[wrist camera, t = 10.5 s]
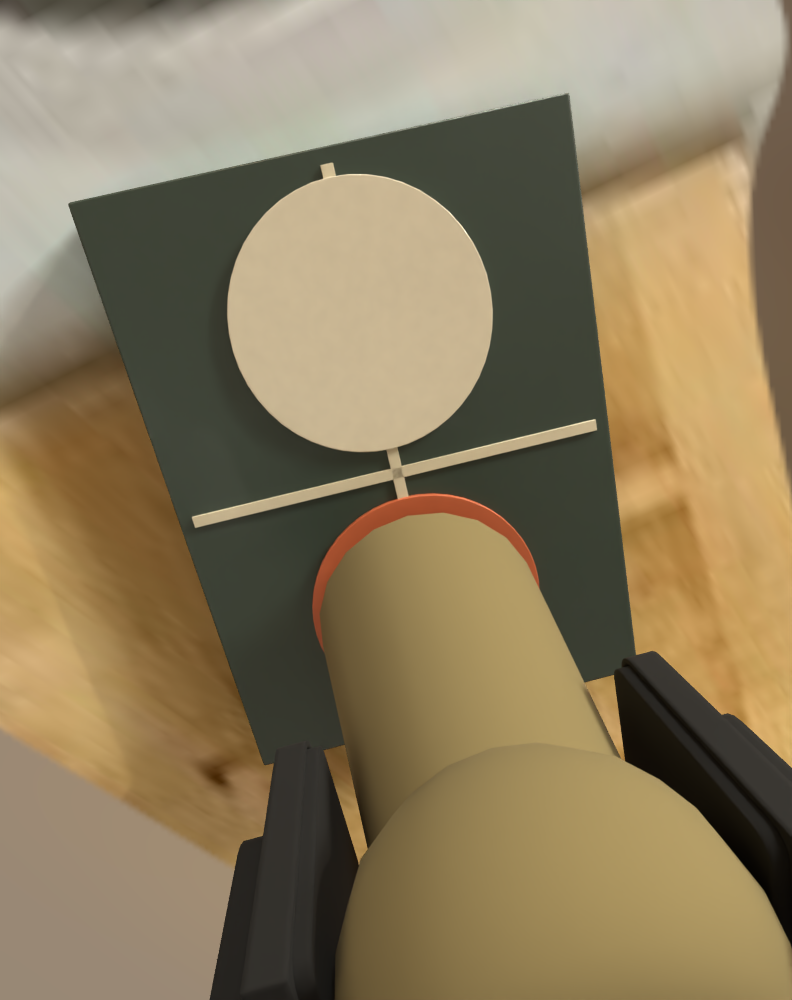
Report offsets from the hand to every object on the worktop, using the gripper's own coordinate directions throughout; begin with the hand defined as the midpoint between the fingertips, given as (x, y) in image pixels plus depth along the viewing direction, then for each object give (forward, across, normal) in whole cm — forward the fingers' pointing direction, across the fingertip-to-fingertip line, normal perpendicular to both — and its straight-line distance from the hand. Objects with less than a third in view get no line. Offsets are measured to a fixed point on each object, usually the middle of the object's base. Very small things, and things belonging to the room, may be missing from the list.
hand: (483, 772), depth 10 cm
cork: (+6, 0, 0) cm, 6 cm away
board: (+8, 0, -4) cm, 9 cm away
